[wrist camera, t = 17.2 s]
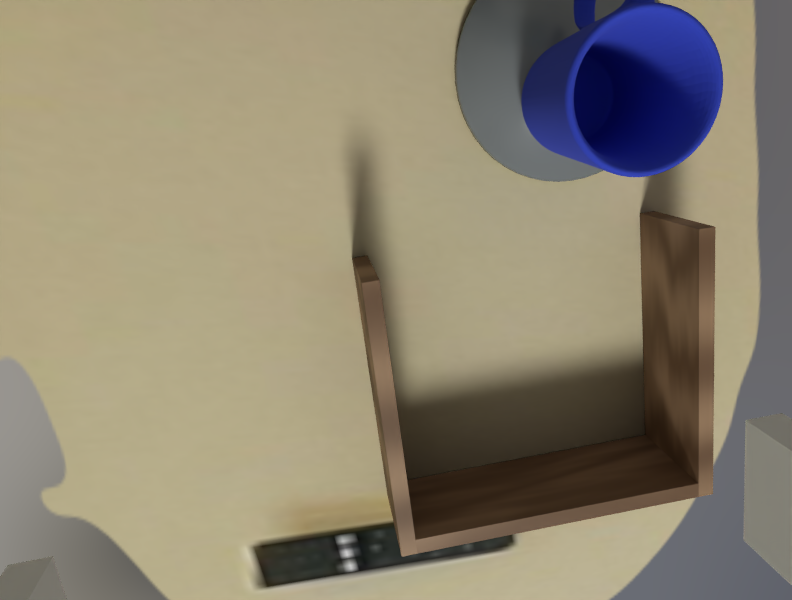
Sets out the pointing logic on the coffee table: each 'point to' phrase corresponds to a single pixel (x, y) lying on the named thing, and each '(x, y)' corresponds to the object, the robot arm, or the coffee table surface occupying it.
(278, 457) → the coffee table surface
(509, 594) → the coffee table surface
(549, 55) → the mug
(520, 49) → the grey round disc
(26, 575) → the robot arm
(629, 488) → the u-shaped wooden frame
